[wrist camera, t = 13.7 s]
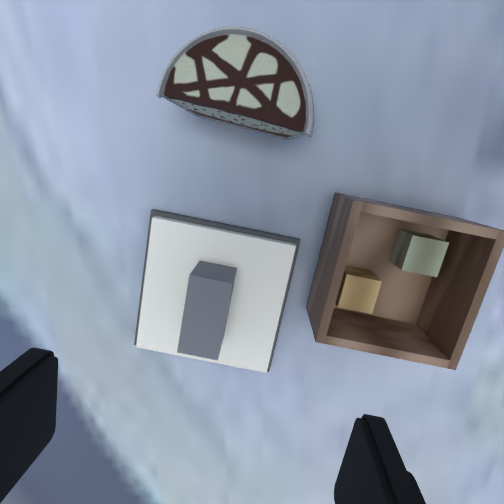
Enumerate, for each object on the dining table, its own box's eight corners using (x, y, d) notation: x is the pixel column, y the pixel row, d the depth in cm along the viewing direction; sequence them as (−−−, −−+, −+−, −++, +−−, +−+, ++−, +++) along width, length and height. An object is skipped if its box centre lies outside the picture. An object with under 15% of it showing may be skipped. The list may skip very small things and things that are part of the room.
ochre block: (371, 270, 37) (381, 281, 34) (362, 300, 38) (372, 314, 35) (339, 264, 37) (346, 274, 34) (331, 294, 38) (337, 307, 35)
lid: (295, 243, 37) (300, 259, 31) (266, 367, 41) (266, 402, 35) (155, 215, 37) (133, 225, 31) (139, 341, 40) (117, 372, 34)
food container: (319, 78, 34) (340, 43, 24) (301, 143, 35) (314, 135, 25) (195, 45, 33) (165, -3, 24) (182, 112, 35) (150, 92, 25)
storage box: (457, 217, 36) (509, 232, 28) (418, 329, 39) (455, 370, 32) (335, 192, 36) (353, 200, 28) (306, 306, 39) (315, 341, 32)
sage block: (432, 235, 36) (449, 242, 33) (421, 266, 37) (437, 277, 34) (399, 228, 36) (412, 235, 33) (389, 260, 37) (401, 270, 34)
